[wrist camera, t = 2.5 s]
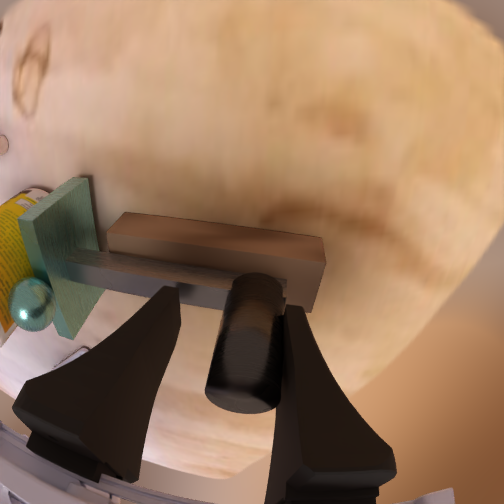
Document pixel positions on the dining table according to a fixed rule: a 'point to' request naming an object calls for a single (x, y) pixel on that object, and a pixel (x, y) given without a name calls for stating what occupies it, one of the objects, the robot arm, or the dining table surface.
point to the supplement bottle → (13, 252)
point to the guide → (225, 250)
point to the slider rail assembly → (150, 296)
